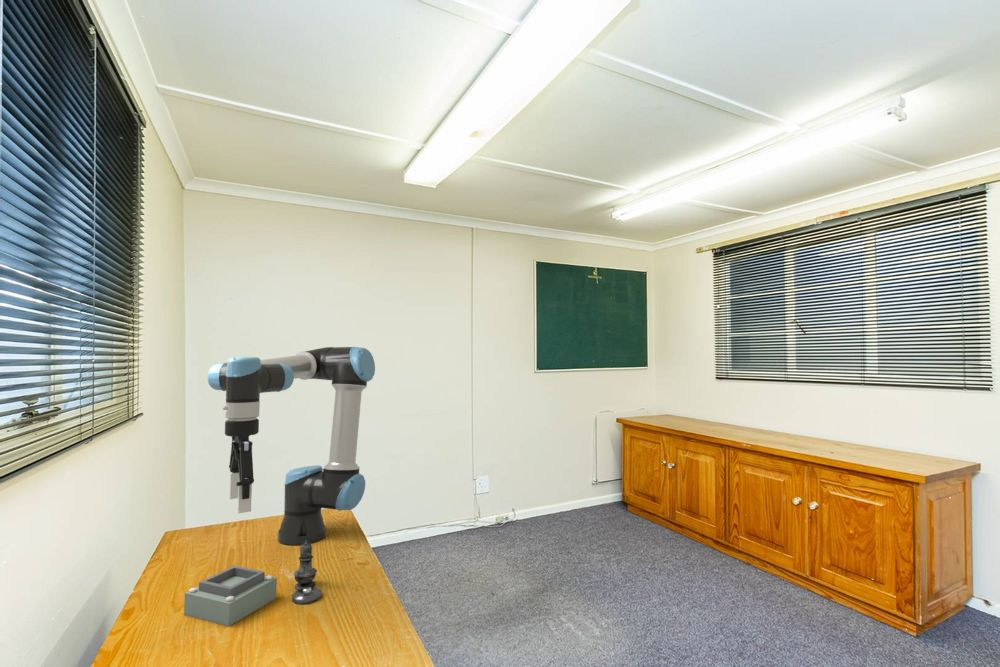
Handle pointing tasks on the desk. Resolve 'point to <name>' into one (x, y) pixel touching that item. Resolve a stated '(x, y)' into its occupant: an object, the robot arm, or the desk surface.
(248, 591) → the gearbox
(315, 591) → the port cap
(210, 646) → the desk surface
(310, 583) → the dark metal chess piece
